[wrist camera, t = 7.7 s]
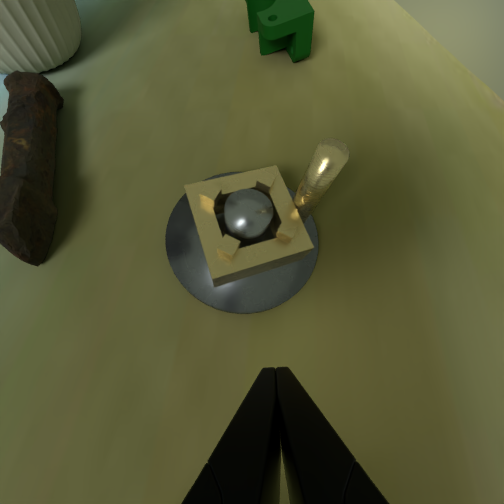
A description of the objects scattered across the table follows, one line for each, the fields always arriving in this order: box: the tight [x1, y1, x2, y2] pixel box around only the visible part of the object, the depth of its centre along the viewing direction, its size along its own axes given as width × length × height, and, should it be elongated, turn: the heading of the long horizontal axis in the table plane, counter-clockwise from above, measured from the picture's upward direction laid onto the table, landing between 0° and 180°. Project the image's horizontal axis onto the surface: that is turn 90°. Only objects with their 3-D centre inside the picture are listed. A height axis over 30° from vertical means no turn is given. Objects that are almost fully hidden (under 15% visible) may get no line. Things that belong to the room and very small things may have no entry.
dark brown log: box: [0, 70, 64, 266], centre depth 21 cm, size 19×4×5 cm, turn 12°
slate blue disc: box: [166, 172, 318, 314], centre depth 20 cm, size 14×14×6 cm
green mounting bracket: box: [245, 0, 314, 62], centre depth 31 cm, size 12×6×9 cm, turn 11°
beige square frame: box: [184, 138, 350, 288], centre depth 17 cm, size 8×10×8 cm
